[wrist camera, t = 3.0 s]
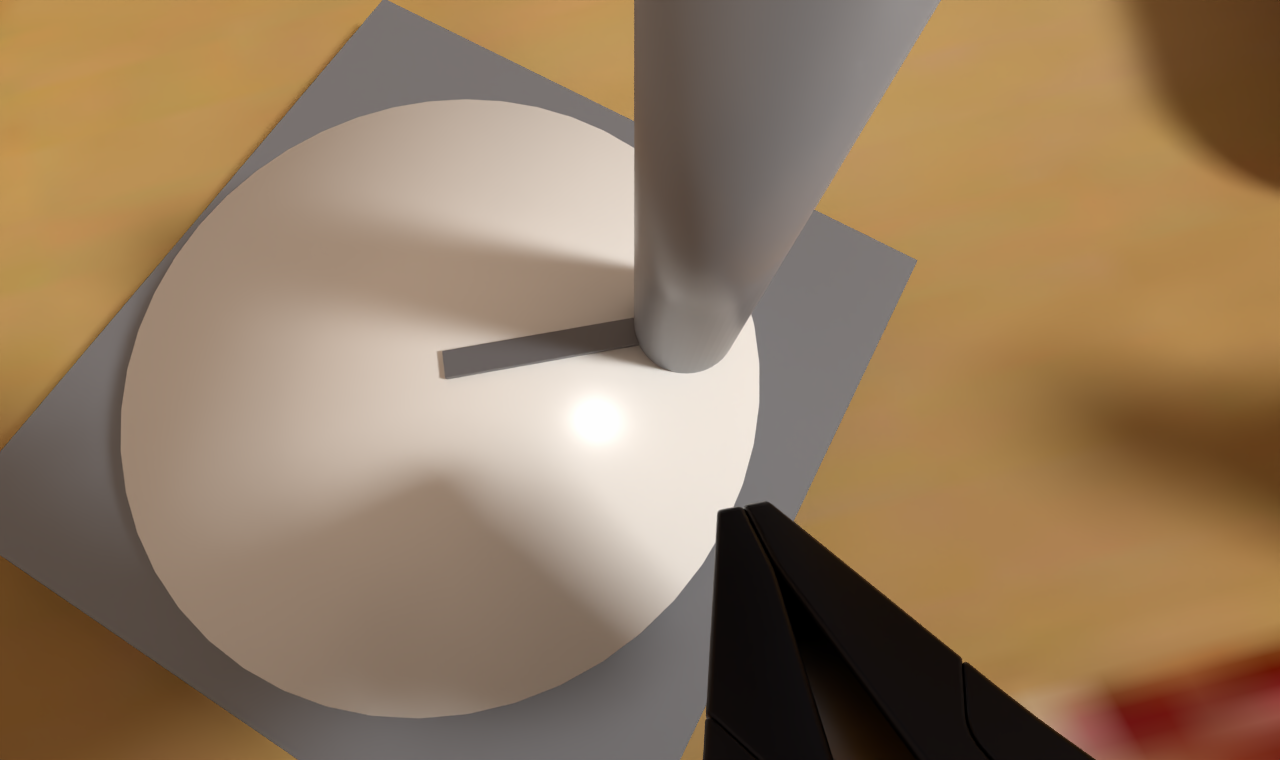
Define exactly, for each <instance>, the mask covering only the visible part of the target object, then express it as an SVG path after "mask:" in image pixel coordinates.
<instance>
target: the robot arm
mask: <svg viewBox="0 0 1280 760" xmlns="http://www.w3.org/2000/svg"><path fill="white" fill-rule="evenodd" d="M706 718H707V719H706V720H705V734H704V752H703V760H1095V759H1094V758H1093V757H1091V756H1090V755H1088V754H1087V753H1086V752H1084V751H1083V750H1081V749H1080V748H1079V747H1077V746H1076V745H1074V744H1073V743H1072V742H1070V741H1069V740H1068V739H1066V738H1065V737H1063V736H1062V735H1061V734H1059V733H1058V732H1056V731H1055V730H1054V729H1052V728H1051V727H1049V726H1048V725H1047V724H1045V723H1044V722H1043V721H1041V720H1040V719H1038V718H1037V717H1036V716H1035V715H1033V714H1032V713H1031V712H1029V711H1028V710H1027V709H1026V708H1024V707H1023V706H1022V705H1020V704H1019V703H1018V702H1017V701H1015V700H1014V699H1013V698H1011V697H1010V696H1009V695H1008V694H1006V693H1005V692H1004V691H1002V690H1001V689H1000V688H999V687H997V686H996V685H995V684H994V683H992V682H991V681H990V680H989V679H987V678H986V677H985V676H984V675H982V674H981V673H980V672H979V671H977V670H976V669H975V668H974V667H973V666H971V665H970V664H969V663H967V662H964V663H963V664H962V658H961V657H960V656H959V655H958V654H956V653H955V652H954V651H953V650H951V649H950V648H949V647H948V646H946V645H945V644H944V643H943V642H941V641H940V640H939V639H938V638H937V637H935V636H934V635H933V634H932V633H930V632H929V631H928V630H927V629H925V628H924V627H923V626H922V625H921V624H919V623H918V622H917V621H916V620H914V619H913V618H912V617H911V616H909V615H908V614H907V613H906V612H905V611H903V610H902V609H901V608H900V607H898V606H897V605H896V604H895V603H893V602H892V601H891V600H890V599H889V598H887V597H886V596H885V595H884V594H882V593H881V592H880V591H879V590H877V589H876V588H875V587H874V586H872V585H871V584H870V583H869V582H868V581H866V580H865V579H864V578H863V577H861V576H860V575H859V574H858V573H856V572H855V571H854V570H853V569H852V568H850V567H849V566H848V565H847V564H845V563H844V562H843V561H842V560H840V559H839V558H838V557H837V556H836V555H834V554H833V553H832V552H831V551H829V550H828V549H827V548H826V547H824V546H823V545H822V544H821V543H820V542H818V541H817V540H816V539H815V538H813V537H812V536H811V535H810V534H808V533H807V532H806V531H805V530H803V529H802V528H801V527H800V526H799V525H797V524H796V523H795V522H794V521H792V520H791V519H790V518H789V517H787V516H786V515H785V514H784V513H783V512H781V511H780V510H779V509H778V508H776V507H775V506H774V505H773V504H771V503H770V502H767V501H762V502H757V503H751V504H747V505H745V506H744V507H743V508H742V507H740V506H736V507H731V508H726V509H721V510H719V511H718V512H717V523H716V541H715V559H714V577H713V595H712V613H711V631H710V650H709V668H708V686H707V704H706Z"/></svg>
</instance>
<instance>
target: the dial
mask: <svg viewBox="0 0 1280 760" xmlns="http://www.w3.org/2000/svg"><path fill="white" fill-rule="evenodd" d="M940 1H941V0H634V148H633V147H632V146H630V145H628V144H626V143H625V142H623V141H621V140H619V139H618V138H616V137H614V136H612V135H611V134H609V133H607V132H605V131H604V130H601V129H599V128H596V127H594V126H592V125H589V124H587V123H585V122H582V121H580V120H578V119H575V118H573V117H570V116H566V115H563V114H560V113H556V112H553V111H549V110H546V109H542V108H539V107H534V106H528V105H522V104H516V103H510V102H504V101H490V100H471V99H461V100H444V101H428V102H422V103H416V104H410V105H405V106H399V107H393V108H389V109H386V110H382V111H379V112H375V113H371V114H368V115H364V116H361V117H357V118H355V119H352V120H350V121H347V122H345V123H342V124H340V125H337V126H335V127H332V128H330V129H327V130H325V131H322V132H320V133H318V134H317V135H315V136H313V137H311V138H309V139H307V140H305V141H303V142H301V143H300V144H298V145H296V146H294V147H292V148H290V149H288V150H287V151H285V152H284V153H282V154H281V155H279V156H278V157H276V158H275V159H273V160H272V161H270V162H269V163H268V164H266V165H265V166H263V167H262V168H260V169H259V170H257V171H256V172H255V173H253V174H252V175H251V176H250V177H249V178H248V179H246V180H245V181H244V182H243V183H242V184H240V185H239V186H238V187H237V188H236V189H235V190H233V191H232V192H231V193H230V194H229V195H228V196H226V197H225V198H224V199H223V201H222V202H221V203H220V204H219V205H218V206H217V207H216V208H215V209H214V210H213V211H212V212H211V213H210V214H209V215H208V216H207V217H206V219H205V220H204V221H203V222H202V223H201V224H200V225H199V226H198V227H197V229H196V230H195V231H194V233H193V234H192V235H191V237H190V238H189V239H188V241H187V242H186V243H185V245H184V246H183V247H182V249H181V250H180V251H179V253H178V254H177V255H176V257H175V258H174V260H173V262H172V263H171V265H170V267H169V269H168V270H167V272H166V274H165V276H164V277H163V279H162V281H161V282H160V284H159V286H158V288H157V289H156V291H155V293H154V295H153V298H152V300H151V302H150V305H149V307H148V309H147V311H146V314H145V316H144V318H143V321H142V323H141V325H140V328H139V330H138V334H137V337H136V341H135V344H134V348H133V351H132V355H131V358H130V362H129V365H128V369H127V375H126V381H125V388H124V395H123V401H122V408H121V458H122V466H123V473H124V481H125V489H126V495H127V498H128V502H129V505H130V509H131V512H132V516H133V519H134V523H135V526H136V530H137V533H138V536H139V538H140V540H141V542H142V544H143V547H144V549H145V551H146V553H147V555H148V558H149V560H150V562H151V564H152V566H153V569H154V571H155V573H156V574H157V576H158V577H159V579H160V580H161V582H162V583H163V585H164V586H165V588H166V589H167V591H168V592H169V594H170V595H171V597H172V598H173V600H174V601H175V603H176V604H177V606H178V608H179V609H180V610H181V611H182V612H183V613H184V614H185V615H186V616H187V617H188V619H189V620H190V621H191V622H192V623H193V624H194V625H195V626H196V627H197V628H198V630H199V631H200V632H201V633H202V634H203V635H204V636H205V637H206V638H207V639H208V640H209V641H210V642H211V643H212V644H214V645H215V646H216V647H217V648H219V649H220V650H221V651H222V652H224V653H225V654H226V655H228V656H229V657H230V658H231V659H233V660H234V661H235V662H236V663H238V664H239V665H240V666H241V667H243V668H244V669H246V670H248V671H249V672H251V673H253V674H255V675H257V676H258V677H260V678H262V679H264V680H265V681H267V682H269V683H271V684H273V685H274V686H276V687H278V688H280V689H281V690H283V691H286V692H289V693H292V694H294V695H297V696H300V697H302V698H305V699H308V700H310V701H313V702H316V703H318V704H321V705H324V706H327V707H332V708H336V709H341V710H346V711H351V712H356V713H360V714H365V715H370V716H383V717H401V718H430V717H441V716H452V715H464V714H470V713H474V712H479V711H483V710H487V709H491V708H496V707H500V706H504V705H508V704H512V703H516V702H518V701H521V700H524V699H526V698H529V697H531V696H534V695H536V694H539V693H542V692H544V691H547V690H549V689H552V688H554V687H557V686H560V685H561V684H563V683H565V682H567V681H569V680H570V679H572V678H574V677H576V676H578V675H579V674H581V673H583V672H585V671H587V670H588V669H590V668H592V667H594V666H596V665H597V664H599V663H601V662H603V661H604V660H605V659H607V658H608V657H609V656H611V655H612V654H613V653H615V652H616V651H617V650H619V649H620V648H621V647H623V646H624V645H625V644H627V643H628V642H630V641H631V640H632V639H634V638H635V637H636V636H638V635H639V634H640V633H641V632H642V631H643V630H644V629H645V628H646V627H647V626H648V625H650V624H651V623H652V622H653V621H654V620H655V619H656V618H657V617H658V616H659V615H660V614H661V613H662V612H663V611H664V610H665V609H666V608H667V607H668V606H669V605H670V604H671V603H672V602H673V601H674V600H675V599H676V597H677V596H678V595H679V594H680V592H681V591H682V590H683V589H684V587H685V586H686V585H687V583H688V582H689V581H690V580H691V578H692V577H693V576H694V574H695V573H696V572H697V571H698V569H699V568H700V567H701V566H702V564H703V563H704V561H705V559H706V558H707V556H708V554H709V552H710V551H711V549H712V547H713V546H714V544H715V541H716V523H717V512H718V511H719V510H721V509H726V508H731V507H733V506H734V504H735V502H736V499H737V497H738V495H739V492H740V490H741V488H742V485H743V482H744V478H745V474H746V471H747V467H748V463H749V460H750V456H751V453H752V449H753V445H754V439H755V432H756V424H757V417H758V410H759V357H758V350H757V342H756V335H755V327H754V322H753V319H752V315H751V313H752V312H753V310H754V308H755V307H756V305H757V304H758V302H759V300H760V299H761V297H762V295H763V294H764V292H765V290H766V289H767V287H768V285H769V284H770V282H771V280H772V279H773V277H774V275H775V274H776V272H777V270H778V269H779V267H780V265H781V264H782V262H783V260H784V259H785V257H786V256H787V254H788V252H789V251H790V249H791V247H792V246H793V244H794V242H795V241H796V239H797V237H798V236H799V234H800V232H801V231H802V229H803V227H804V226H805V224H806V222H807V221H808V219H809V217H810V216H811V214H812V212H813V211H814V209H815V208H816V206H817V204H818V203H819V201H820V199H821V198H822V196H823V194H824V193H825V191H826V189H827V188H828V186H829V184H830V183H831V181H832V179H833V178H834V176H835V174H836V173H837V171H838V169H839V168H840V166H841V164H842V163H843V161H844V160H845V158H846V156H847V155H848V153H849V151H850V150H851V148H852V146H853V145H854V143H855V141H856V140H857V138H858V136H859V135H860V133H861V131H862V130H863V128H864V126H865V125H866V123H867V121H868V120H869V118H870V116H871V115H872V113H873V112H874V110H875V108H876V107H877V105H878V103H879V102H880V100H881V98H882V97H883V95H884V93H885V92H886V90H887V88H888V87H889V85H890V83H891V82H892V80H893V78H894V77H895V75H896V73H897V72H898V70H899V68H900V67H901V65H902V64H903V62H904V60H905V59H906V57H907V55H908V54H909V52H910V50H911V49H912V47H913V45H914V44H915V42H916V40H917V39H918V37H919V35H920V34H921V32H922V30H923V29H924V27H925V25H926V24H927V22H928V20H929V19H930V17H931V16H932V14H933V12H934V11H935V9H936V7H937V6H938V4H939V2H940Z"/></svg>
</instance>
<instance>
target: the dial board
mask: <svg viewBox="0 0 1280 760" xmlns="http://www.w3.org/2000/svg"><path fill="white" fill-rule="evenodd" d="M461 99H471V100H490V101H504V102H510V103H516V104H522V105H528V106H534V107H539V108H542V109H546V110H549V111H553V112H556V113H560V114H563V115H566V116H570V117H573V118H575V119H578V120H580V121H582V122H585V123H587V124H589V125H592V126H594V127H596V128H599V129H601V130H604V131H605V132H607V133H609V134H611V135H612V136H614V137H616V138H618V139H619V140H621V141H623V142H625V143H626V144H628V145H630V146H632V147H633V148H634V121H632V120H630V119H628V118H626V117H624V116H622V115H620V114H618V113H616V112H614V111H612V110H610V109H608V108H606V107H604V106H602V105H600V104H598V103H596V102H594V101H591V100H589V99H587V98H585V97H583V96H581V95H579V94H577V93H575V92H573V91H571V90H569V89H567V88H565V87H563V86H561V85H559V84H557V83H555V82H553V81H551V80H549V79H547V78H545V77H543V76H541V75H538V74H536V73H534V72H532V71H530V70H528V69H526V68H524V67H522V66H520V65H518V64H516V63H514V62H512V61H510V60H508V59H506V58H504V57H502V56H500V55H498V54H496V53H494V52H492V51H490V50H488V49H485V48H483V47H481V46H479V45H477V44H475V43H473V42H471V41H469V40H467V39H465V38H463V37H461V36H459V35H457V34H455V33H453V32H451V31H449V30H447V29H445V28H443V27H441V26H439V25H437V24H435V23H432V22H430V21H428V20H426V19H424V18H422V17H420V16H418V15H416V14H414V13H412V12H410V11H408V10H406V9H404V8H402V7H400V6H398V5H396V4H394V3H392V2H390V1H388V0H382V1H381V3H380V4H379V5H378V6H377V7H376V9H375V10H374V11H373V12H372V13H371V14H370V16H369V17H368V18H367V19H366V20H365V22H364V23H363V24H362V25H361V26H360V27H359V29H358V30H357V31H356V32H355V33H354V35H353V36H352V37H351V38H350V39H349V40H348V42H347V43H346V44H345V45H344V46H343V48H342V49H341V50H340V51H339V52H338V53H337V55H336V56H335V57H334V58H333V59H332V61H331V62H330V63H329V64H328V65H327V66H326V68H325V69H324V70H323V71H322V72H321V74H320V75H319V76H318V77H317V78H316V79H315V81H314V82H313V83H312V84H311V85H310V87H309V88H308V89H307V90H306V91H305V92H304V94H303V95H302V96H301V97H300V98H299V100H298V101H297V102H296V103H295V104H294V105H293V107H292V108H291V109H290V110H289V111H288V113H287V114H286V115H285V116H284V117H283V118H282V120H281V121H280V122H279V123H278V124H277V126H276V127H275V128H274V129H273V130H272V131H271V133H270V134H269V135H268V136H267V137H266V139H265V140H264V141H263V142H262V143H261V144H260V146H259V147H258V148H257V149H256V150H255V151H254V153H253V154H252V155H251V156H250V157H249V159H248V160H247V161H246V162H245V163H244V164H243V166H242V167H241V168H240V169H239V170H238V172H237V173H236V174H235V175H234V176H233V177H232V179H231V180H230V181H229V182H228V183H227V185H226V186H225V187H224V188H223V189H222V190H221V192H220V193H219V194H218V195H217V196H216V198H215V199H214V200H213V201H212V202H211V203H210V205H209V206H208V207H207V208H206V209H205V211H204V212H203V213H202V214H201V215H200V216H199V218H198V219H197V220H196V221H195V222H194V224H193V225H192V226H191V227H190V228H189V229H188V231H187V232H186V233H185V234H184V235H183V237H182V238H181V239H180V240H179V241H178V242H177V244H176V245H175V246H174V247H173V248H172V250H171V251H170V252H169V253H168V254H167V255H166V257H165V258H164V259H163V260H162V261H161V263H160V264H159V265H158V266H157V267H156V268H155V270H154V271H153V272H152V273H151V274H150V276H149V277H148V278H147V279H146V280H145V281H144V283H143V284H142V285H141V286H140V287H139V289H138V290H137V291H136V292H135V293H134V294H133V296H132V297H131V298H130V299H129V300H128V301H127V303H126V304H125V305H124V306H123V307H122V309H121V310H120V311H119V312H118V313H117V314H116V316H115V317H114V318H113V319H112V320H111V322H110V323H109V324H108V325H107V326H106V327H105V329H104V330H103V331H102V332H101V333H100V335H99V336H98V337H97V338H96V339H95V340H94V342H93V343H92V344H91V345H90V346H89V348H88V349H87V350H86V351H85V352H84V353H83V355H82V356H81V357H80V358H79V359H78V361H77V362H76V363H75V364H74V365H73V366H72V368H71V369H70V370H69V371H68V372H67V374H66V375H65V376H64V377H63V378H62V379H61V381H60V382H59V383H58V384H57V385H56V387H55V388H54V389H53V390H52V391H51V392H50V394H49V395H48V396H47V397H46V398H45V400H44V401H43V402H42V403H41V404H40V405H39V407H38V408H37V409H36V410H35V411H34V413H33V414H32V415H31V416H30V417H29V418H28V420H27V421H26V422H25V423H24V424H23V426H22V427H21V428H20V429H19V430H18V431H17V433H16V434H15V435H14V436H13V437H12V439H11V440H10V441H9V442H8V443H7V444H6V446H5V447H4V448H3V449H2V450H1V451H0V555H1V556H2V557H4V558H5V559H6V560H8V561H9V562H11V563H12V564H14V565H15V566H17V567H18V568H20V569H21V570H22V571H24V572H25V573H27V574H28V575H30V576H31V577H33V578H34V579H36V580H37V581H39V582H40V583H41V584H43V585H44V586H46V587H47V588H49V589H50V590H52V591H53V592H55V593H56V594H57V595H59V596H60V597H62V598H63V599H65V600H66V601H68V602H69V603H71V604H72V605H73V606H75V607H76V608H78V609H79V610H81V611H82V612H84V613H85V614H87V615H88V616H90V617H91V618H92V619H94V620H95V621H97V622H98V623H100V624H101V625H103V626H104V627H106V628H107V629H108V630H110V631H111V632H113V633H114V634H116V635H117V636H119V637H120V638H122V639H123V640H124V641H126V642H127V643H129V644H130V645H132V646H133V647H135V648H136V649H138V650H139V651H140V652H142V653H143V654H145V655H146V656H148V657H149V658H151V659H152V660H154V661H155V662H157V663H158V664H159V665H161V666H162V667H164V668H165V669H167V670H168V671H170V672H171V673H173V674H174V675H175V676H177V677H178V678H180V679H181V680H183V681H184V682H186V683H187V684H189V685H190V686H191V687H193V688H194V689H196V690H197V691H199V692H200V693H202V694H203V695H205V696H206V697H207V698H209V699H210V700H212V701H213V702H215V703H216V704H218V705H219V706H221V707H222V708H224V709H225V710H226V711H228V712H229V713H231V714H232V715H234V716H235V717H237V718H238V719H240V720H241V721H242V722H244V723H245V724H247V725H248V726H250V727H251V728H253V729H254V730H256V731H257V732H258V733H260V734H261V735H263V736H264V737H266V738H267V739H269V740H270V741H272V742H273V743H274V744H276V745H277V746H279V747H280V748H282V749H283V750H285V751H286V752H288V753H289V754H291V755H292V756H293V757H295V758H296V759H298V760H680V759H681V757H682V755H683V752H684V750H685V748H686V746H687V744H688V742H689V740H690V738H691V736H692V733H693V731H694V729H695V727H696V725H697V723H698V721H699V719H700V717H701V715H702V712H703V710H704V708H705V706H706V704H707V686H708V668H709V650H710V631H711V613H712V595H713V577H714V559H715V544H714V546H713V547H712V549H711V551H710V552H709V554H708V556H707V558H706V559H705V561H704V563H703V564H702V566H701V567H700V568H699V569H698V571H697V572H696V573H695V574H694V576H693V577H692V578H691V580H690V581H689V582H688V583H687V585H686V586H685V587H684V589H683V590H682V591H681V592H680V594H679V595H678V596H677V597H676V599H675V600H674V601H673V602H672V603H671V604H670V605H669V606H668V607H667V608H666V609H665V610H664V611H663V612H662V613H661V614H660V615H659V616H658V617H657V618H656V619H655V620H654V621H653V622H652V623H651V624H650V625H648V626H647V627H646V628H645V629H644V630H643V631H642V632H641V633H640V634H639V635H638V636H636V637H635V638H634V639H632V640H631V641H630V642H628V643H627V644H625V645H624V646H623V647H621V648H620V649H619V650H617V651H616V652H615V653H613V654H612V655H611V656H609V657H608V658H607V659H605V660H604V661H603V662H601V663H599V664H597V665H596V666H594V667H592V668H590V669H588V670H587V671H585V672H583V673H581V674H579V675H578V676H576V677H574V678H572V679H570V680H569V681H567V682H565V683H563V684H561V685H560V686H557V687H554V688H552V689H549V690H547V691H544V692H542V693H539V694H536V695H534V696H531V697H529V698H526V699H524V700H521V701H518V702H516V703H512V704H508V705H504V706H500V707H496V708H491V709H487V710H483V711H479V712H474V713H470V714H464V715H452V716H441V717H430V718H401V717H383V716H370V715H365V714H360V713H356V712H351V711H346V710H341V709H336V708H332V707H327V706H324V705H321V704H318V703H316V702H313V701H310V700H308V699H305V698H302V697H300V696H297V695H294V694H292V693H289V692H286V691H283V690H281V689H280V688H278V687H276V686H274V685H273V684H271V683H269V682H267V681H265V680H264V679H262V678H260V677H258V676H257V675H255V674H253V673H251V672H249V671H248V670H246V669H244V668H243V667H241V666H240V665H239V664H238V663H236V662H235V661H234V660H233V659H231V658H230V657H229V656H228V655H226V654H225V653H224V652H222V651H221V650H220V649H219V648H217V647H216V646H215V645H214V644H212V643H211V642H210V641H209V640H208V639H207V638H206V637H205V636H204V635H203V634H202V633H201V632H200V631H199V630H198V628H197V627H196V626H195V625H194V624H193V623H192V622H191V621H190V620H189V619H188V617H187V616H186V615H185V614H184V613H183V612H182V611H181V610H180V609H179V608H178V606H177V604H176V603H175V601H174V600H173V598H172V597H171V595H170V594H169V592H168V591H167V589H166V588H165V586H164V585H163V583H162V582H161V580H160V579H159V577H158V576H157V574H156V573H155V571H154V569H153V566H152V564H151V562H150V560H149V558H148V555H147V553H146V551H145V549H144V547H143V544H142V542H141V540H140V538H139V536H138V533H137V530H136V526H135V523H134V519H133V516H132V512H131V509H130V505H129V502H128V498H127V495H126V489H125V481H124V473H123V466H122V458H121V408H122V401H123V395H124V388H125V381H126V375H127V369H128V365H129V362H130V358H131V355H132V351H133V348H134V344H135V341H136V337H137V334H138V330H139V328H140V325H141V323H142V321H143V318H144V316H145V314H146V311H147V309H148V307H149V305H150V302H151V300H152V298H153V295H154V293H155V291H156V289H157V288H158V286H159V284H160V282H161V281H162V279H163V277H164V276H165V274H166V272H167V270H168V269H169V267H170V265H171V263H172V262H173V260H174V258H175V257H176V255H177V254H178V253H179V251H180V250H181V249H182V247H183V246H184V245H185V243H186V242H187V241H188V239H189V238H190V237H191V235H192V234H193V233H194V231H195V230H196V229H197V227H198V226H199V225H200V224H201V223H202V222H203V221H204V220H205V219H206V217H207V216H208V215H209V214H210V213H211V212H212V211H213V210H214V209H215V208H216V207H217V206H218V205H219V204H220V203H221V202H222V201H223V199H224V198H225V197H226V196H228V195H229V194H230V193H231V192H232V191H233V190H235V189H236V188H237V187H238V186H239V185H240V184H242V183H243V182H244V181H245V180H246V179H248V178H249V177H250V176H251V175H252V174H253V173H255V172H256V171H257V170H259V169H260V168H262V167H263V166H265V165H266V164H268V163H269V162H270V161H272V160H273V159H275V158H276V157H278V156H279V155H281V154H282V153H284V152H285V151H287V150H288V149H290V148H292V147H294V146H296V145H298V144H300V143H301V142H303V141H305V140H307V139H309V138H311V137H313V136H315V135H317V134H318V133H320V132H322V131H325V130H327V129H330V128H332V127H335V126H337V125H340V124H342V123H345V122H347V121H350V120H352V119H355V118H357V117H361V116H364V115H368V114H371V113H375V112H379V111H382V110H386V109H389V108H393V107H399V106H405V105H410V104H416V103H422V102H428V101H444V100H461ZM916 262H917V260H916V259H914V258H911V257H909V256H907V255H905V254H903V253H901V252H899V251H897V250H895V249H893V248H891V247H889V246H887V245H885V244H883V243H881V242H879V241H877V240H875V239H873V238H871V237H869V236H867V235H865V234H863V233H861V232H858V231H856V230H854V229H852V228H850V227H848V226H846V225H844V224H842V223H840V222H838V221H836V220H834V219H832V218H830V217H828V216H826V215H824V214H822V213H820V212H818V211H816V210H814V211H813V212H812V214H811V216H810V217H809V219H808V221H807V222H806V224H805V226H804V227H803V229H802V231H801V232H800V234H799V236H798V237H797V239H796V241H795V242H794V244H793V246H792V247H791V249H790V251H789V252H788V254H787V256H786V257H785V259H784V260H783V262H782V264H781V265H780V267H779V269H778V270H777V272H776V274H775V275H774V277H773V279H772V280H771V282H770V284H769V285H768V287H767V289H766V290H765V292H764V294H763V295H762V297H761V299H760V300H759V302H758V304H757V305H756V307H755V308H754V310H753V312H752V313H751V315H752V319H753V322H754V327H755V335H756V342H757V350H758V357H759V410H758V417H757V424H756V432H755V439H754V445H753V449H752V453H751V456H750V460H749V463H748V467H747V471H746V474H745V478H744V482H743V485H742V488H741V490H740V492H739V495H738V497H737V499H736V502H735V504H734V506H733V507H736V506H740V507H742V508H743V507H744V506H745V505H747V504H751V503H757V502H762V501H767V502H770V503H771V504H773V505H774V506H775V507H776V508H778V509H779V510H780V511H781V512H783V513H784V514H785V515H786V516H787V517H789V518H790V519H791V520H792V521H794V519H795V517H796V515H797V513H798V511H799V508H800V506H801V504H802V502H803V500H804V498H805V496H806V494H807V492H808V490H809V487H810V485H811V483H812V481H813V479H814V477H815V475H816V473H817V471H818V469H819V466H820V464H821V462H822V460H823V458H824V456H825V454H826V452H827V450H828V447H829V445H830V443H831V441H832V439H833V437H834V435H835V433H836V431H837V429H838V426H839V424H840V422H841V420H842V418H843V416H844V414H845V412H846V410H847V408H848V405H849V403H850V401H851V399H852V397H853V395H854V393H855V391H856V389H857V387H858V384H859V382H860V380H861V378H862V376H863V374H864V372H865V370H866V368H867V365H868V363H869V361H870V359H871V357H872V355H873V353H874V351H875V349H876V347H877V344H878V342H879V340H880V338H881V336H882V334H883V332H884V330H885V328H886V326H887V323H888V321H889V319H890V317H891V315H892V313H893V311H894V309H895V307H896V304H897V302H898V300H899V298H900V296H901V294H902V292H903V290H904V288H905V286H906V283H907V281H908V279H909V277H910V275H911V273H912V271H913V269H914V267H915V265H916Z"/></svg>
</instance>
